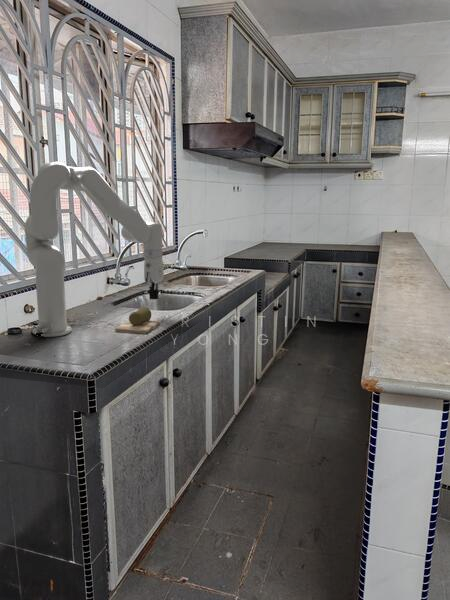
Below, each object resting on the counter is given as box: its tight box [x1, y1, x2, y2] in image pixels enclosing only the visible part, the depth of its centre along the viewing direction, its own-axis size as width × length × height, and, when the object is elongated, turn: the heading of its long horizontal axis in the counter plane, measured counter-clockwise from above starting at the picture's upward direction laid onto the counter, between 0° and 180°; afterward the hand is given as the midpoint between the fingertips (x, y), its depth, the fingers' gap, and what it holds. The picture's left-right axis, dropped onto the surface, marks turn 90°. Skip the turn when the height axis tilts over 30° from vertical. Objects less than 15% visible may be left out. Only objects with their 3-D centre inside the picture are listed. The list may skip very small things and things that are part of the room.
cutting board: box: [115, 320, 161, 335], centre depth 184 cm, size 14×12×1 cm
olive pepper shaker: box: [128, 306, 152, 326], centre depth 187 cm, size 6×6×11 cm
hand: (154, 298), depth 198 cm, fingers closed
